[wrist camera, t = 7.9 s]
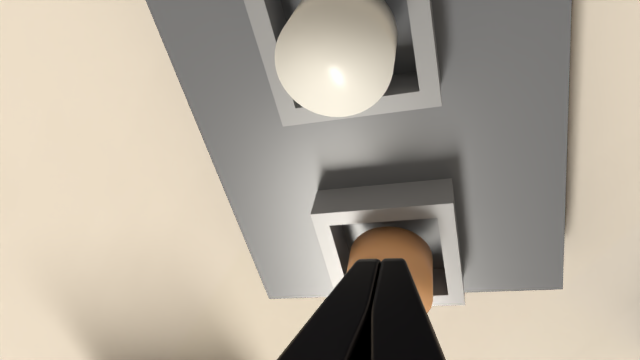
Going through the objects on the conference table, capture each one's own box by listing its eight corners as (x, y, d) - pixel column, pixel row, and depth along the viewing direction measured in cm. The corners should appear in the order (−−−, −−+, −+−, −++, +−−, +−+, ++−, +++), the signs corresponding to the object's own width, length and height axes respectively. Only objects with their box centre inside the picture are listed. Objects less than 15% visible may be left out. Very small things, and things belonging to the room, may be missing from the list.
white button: (388, -30, 14) (383, -8, 13) (404, 78, 16) (402, 109, 14) (278, -7, 15) (259, 15, 13) (305, 92, 17) (292, 123, 15)
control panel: (569, -694, 10) (624, -890, 7) (553, 255, 23) (570, 317, 20) (17, -416, 13) (-93, -474, 11) (278, 268, 27) (261, 323, 24)
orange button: (427, 223, 19) (427, 262, 17) (436, 284, 21) (437, 325, 19) (342, 229, 20) (335, 266, 18) (358, 287, 22) (353, 326, 20)
